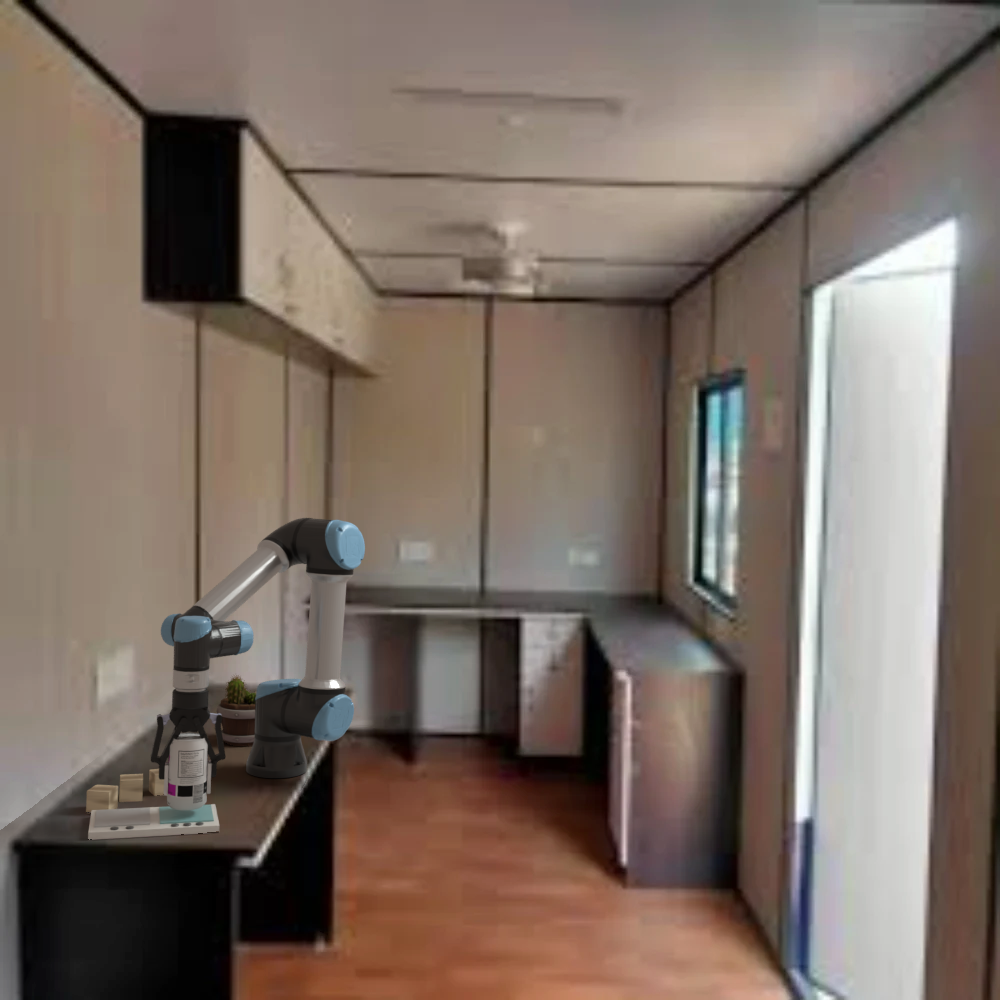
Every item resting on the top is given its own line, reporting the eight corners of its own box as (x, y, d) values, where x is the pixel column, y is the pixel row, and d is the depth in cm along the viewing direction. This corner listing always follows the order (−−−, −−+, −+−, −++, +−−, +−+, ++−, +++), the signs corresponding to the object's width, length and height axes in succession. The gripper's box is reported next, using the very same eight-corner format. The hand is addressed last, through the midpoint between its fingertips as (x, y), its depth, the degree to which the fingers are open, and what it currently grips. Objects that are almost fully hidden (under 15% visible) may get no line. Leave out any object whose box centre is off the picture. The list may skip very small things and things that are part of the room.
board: (91, 817, 242) (91, 808, 242) (214, 810, 250) (215, 802, 250) (88, 839, 228) (88, 831, 228) (219, 832, 236) (219, 824, 236)
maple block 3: (148, 790, 263) (149, 769, 263) (170, 788, 266) (170, 767, 266) (154, 796, 259) (155, 775, 259) (176, 793, 262) (177, 772, 262)
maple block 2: (119, 796, 258) (120, 774, 258) (142, 795, 260) (143, 773, 260) (119, 802, 253) (119, 780, 253) (142, 801, 255) (143, 779, 255)
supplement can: (159, 808, 239) (161, 738, 239) (181, 798, 247) (183, 730, 247) (192, 813, 237) (194, 743, 236) (213, 802, 245) (215, 734, 244)
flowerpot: (246, 733, 322) (248, 664, 321) (280, 743, 312) (283, 672, 311) (204, 741, 310) (206, 669, 310) (238, 752, 301) (241, 678, 300)
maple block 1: (95, 806, 250) (96, 784, 250) (117, 808, 249) (118, 785, 249) (86, 813, 245) (86, 790, 245) (108, 814, 244) (109, 792, 244)
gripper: (139, 693, 234) (135, 800, 235) (241, 691, 241) (238, 795, 241) (139, 685, 241) (136, 790, 242) (239, 684, 248) (235, 785, 249)
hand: (187, 792), depth 242 cm, fingers closed on supplement can, 8 cm apart
